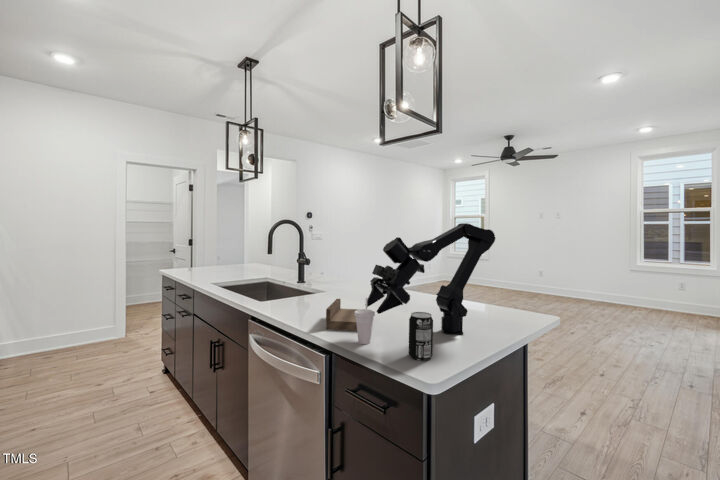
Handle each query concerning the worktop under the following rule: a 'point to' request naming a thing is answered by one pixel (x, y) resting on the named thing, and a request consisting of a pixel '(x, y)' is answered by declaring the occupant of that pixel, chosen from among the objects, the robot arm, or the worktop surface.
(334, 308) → the wooden l-shaped block
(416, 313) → the beverage can
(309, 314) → the worktop surface
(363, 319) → the smoothie
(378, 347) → the worktop surface
